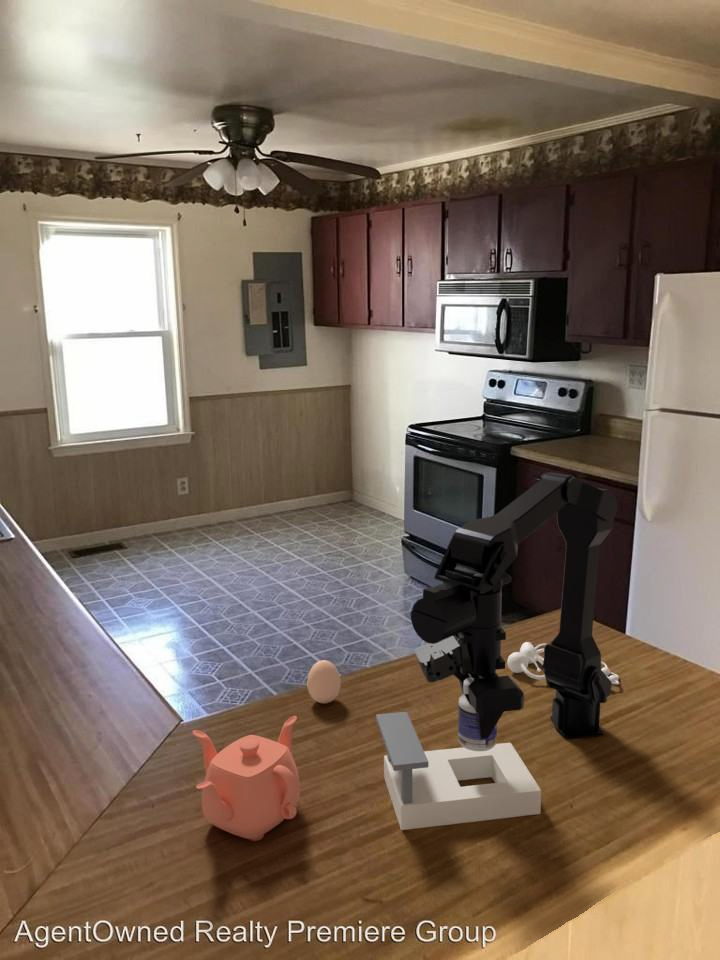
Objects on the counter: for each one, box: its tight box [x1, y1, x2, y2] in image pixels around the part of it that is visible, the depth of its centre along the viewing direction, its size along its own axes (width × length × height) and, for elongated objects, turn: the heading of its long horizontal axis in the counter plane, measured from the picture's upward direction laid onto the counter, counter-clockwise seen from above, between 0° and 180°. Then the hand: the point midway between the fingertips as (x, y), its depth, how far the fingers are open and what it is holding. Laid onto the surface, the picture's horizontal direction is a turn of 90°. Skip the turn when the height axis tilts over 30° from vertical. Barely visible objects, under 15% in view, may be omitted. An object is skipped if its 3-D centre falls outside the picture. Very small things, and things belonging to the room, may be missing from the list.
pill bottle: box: [457, 677, 498, 751], centre depth 107 cm, size 5×5×9 cm
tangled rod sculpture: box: [506, 641, 620, 686], centre depth 145 cm, size 19×14×4 cm
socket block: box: [375, 711, 542, 831], centre depth 109 cm, size 20×13×10 cm, turn 99°
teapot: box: [192, 715, 301, 842], centre depth 104 cm, size 14×14×11 cm
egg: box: [306, 659, 342, 704], centre depth 136 cm, size 6×6×8 cm
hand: (478, 726), depth 108 cm, fingers closed on pill bottle, 5 cm apart
